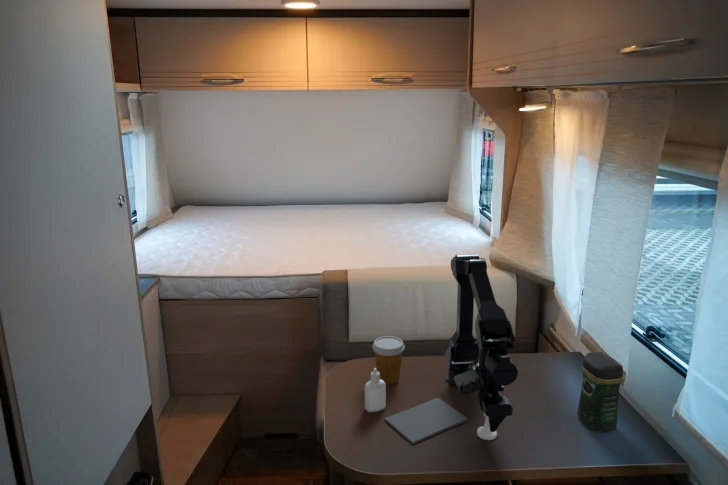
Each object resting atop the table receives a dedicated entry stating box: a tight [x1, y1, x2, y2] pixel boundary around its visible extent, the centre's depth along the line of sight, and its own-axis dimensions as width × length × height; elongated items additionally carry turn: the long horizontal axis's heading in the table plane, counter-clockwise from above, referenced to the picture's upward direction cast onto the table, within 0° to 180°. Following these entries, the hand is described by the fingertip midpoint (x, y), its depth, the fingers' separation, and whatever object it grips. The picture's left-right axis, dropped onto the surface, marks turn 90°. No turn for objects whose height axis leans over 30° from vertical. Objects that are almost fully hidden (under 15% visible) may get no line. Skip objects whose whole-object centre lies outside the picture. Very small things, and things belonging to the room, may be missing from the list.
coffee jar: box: [576, 351, 624, 433], centre depth 138 cm, size 10×8×19 cm
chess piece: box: [476, 412, 498, 441], centre depth 135 cm, size 5×5×10 cm
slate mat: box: [384, 397, 468, 445], centre depth 142 cm, size 18×12×1 cm, turn 122°
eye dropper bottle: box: [364, 367, 387, 413], centre depth 146 cm, size 4×6×12 cm
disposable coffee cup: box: [372, 335, 406, 385], centre depth 161 cm, size 10×10×12 cm
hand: (487, 420), depth 135 cm, fingers open, 9 cm apart
